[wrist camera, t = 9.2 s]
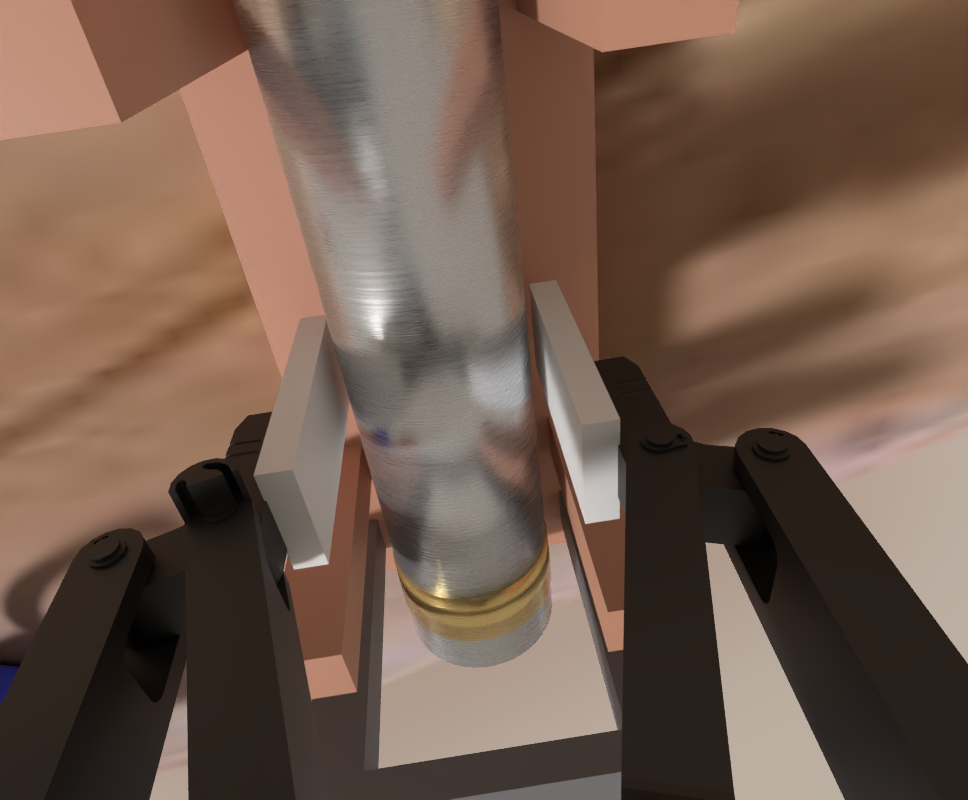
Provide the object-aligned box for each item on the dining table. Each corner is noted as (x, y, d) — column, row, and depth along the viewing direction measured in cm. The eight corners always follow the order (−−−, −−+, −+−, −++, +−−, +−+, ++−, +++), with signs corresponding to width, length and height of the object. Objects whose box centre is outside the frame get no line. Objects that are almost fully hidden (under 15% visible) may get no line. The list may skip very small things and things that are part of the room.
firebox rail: (52, -344, 12) (-1107, -1331, 3) (567, -414, 12) (1066, -1572, 3) (354, 547, 27) (325, 870, 17) (593, 509, 27) (694, 809, 17)
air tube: (200, -61, 13) (224, -87, 9) (433, -90, 14) (542, -123, 11) (393, 582, 24) (442, 695, 20) (513, 531, 26) (580, 627, 22)
